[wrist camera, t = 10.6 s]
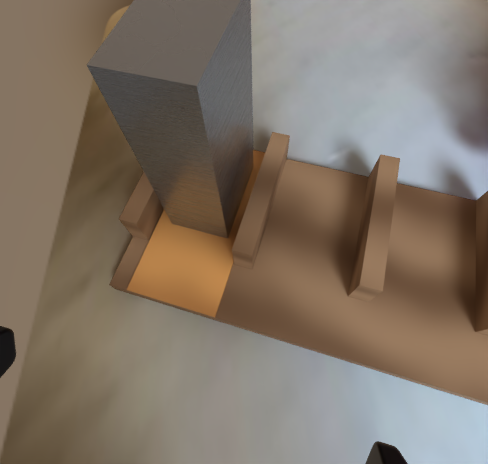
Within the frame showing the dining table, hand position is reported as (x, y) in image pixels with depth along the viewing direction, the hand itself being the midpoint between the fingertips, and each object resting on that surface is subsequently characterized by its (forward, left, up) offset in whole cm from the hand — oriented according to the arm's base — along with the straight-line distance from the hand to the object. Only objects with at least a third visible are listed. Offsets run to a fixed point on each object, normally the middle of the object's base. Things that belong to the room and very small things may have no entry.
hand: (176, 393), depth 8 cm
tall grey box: (+9, +8, -11) cm, 16 cm away
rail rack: (+10, +1, -12) cm, 16 cm away
